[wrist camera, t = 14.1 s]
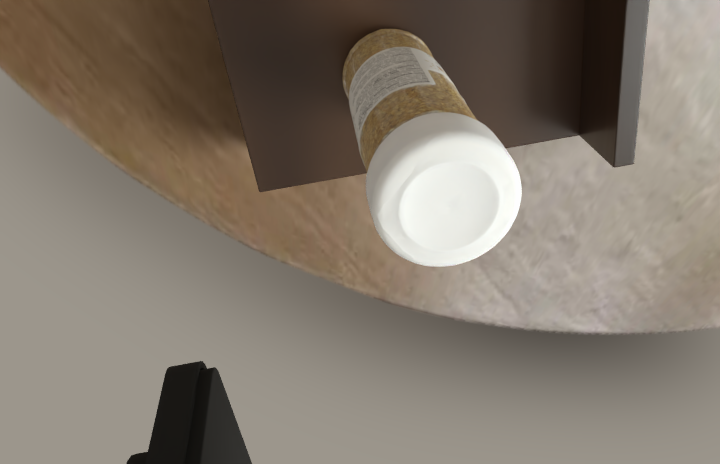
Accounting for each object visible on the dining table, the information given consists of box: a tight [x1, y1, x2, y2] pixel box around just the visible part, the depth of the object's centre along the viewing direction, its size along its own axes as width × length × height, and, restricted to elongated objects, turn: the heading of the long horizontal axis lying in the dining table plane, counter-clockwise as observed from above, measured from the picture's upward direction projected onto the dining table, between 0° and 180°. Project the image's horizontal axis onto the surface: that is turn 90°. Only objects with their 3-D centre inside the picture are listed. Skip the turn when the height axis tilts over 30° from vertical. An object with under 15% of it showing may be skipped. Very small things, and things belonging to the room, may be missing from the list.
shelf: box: [208, 0, 650, 192], centre depth 30 cm, size 18×10×10 cm, turn 99°
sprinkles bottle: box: [343, 29, 522, 267], centre depth 24 cm, size 5×5×13 cm
